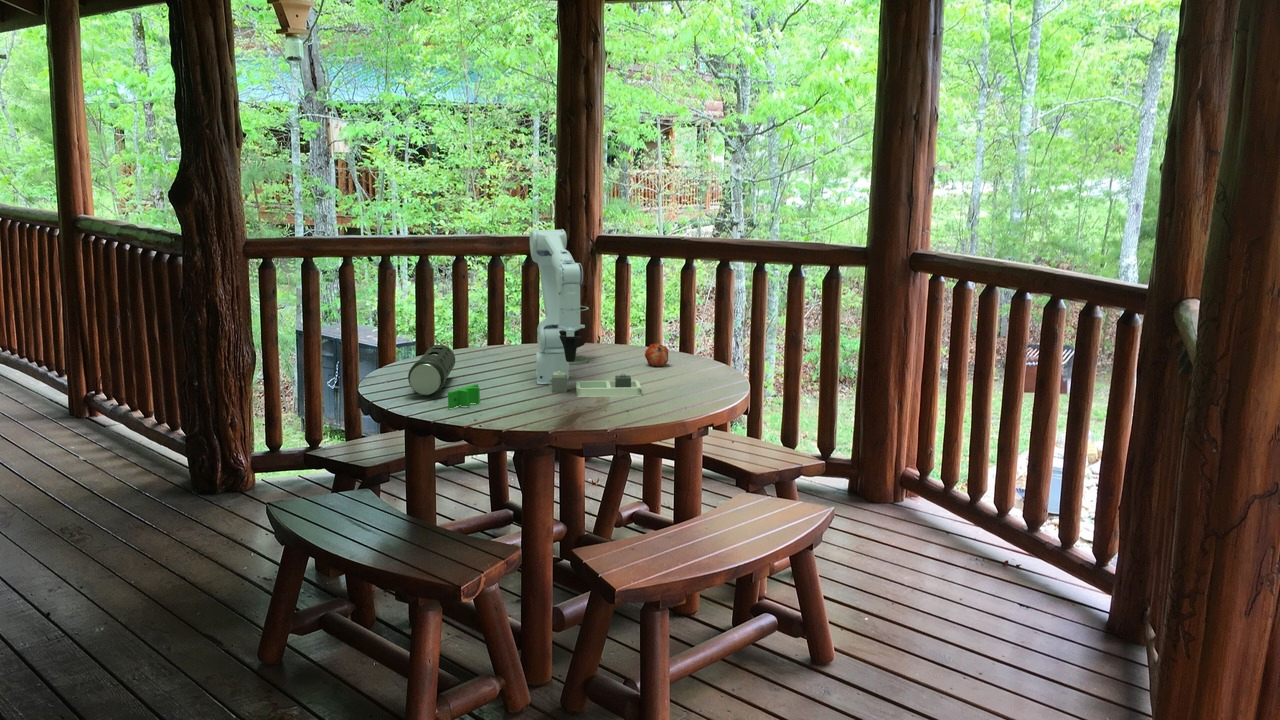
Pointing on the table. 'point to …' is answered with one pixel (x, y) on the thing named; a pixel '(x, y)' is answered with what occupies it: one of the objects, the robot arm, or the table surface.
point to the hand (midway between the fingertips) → (569, 359)
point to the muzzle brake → (431, 370)
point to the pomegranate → (657, 355)
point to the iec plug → (559, 382)
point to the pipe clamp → (464, 396)
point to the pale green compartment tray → (606, 389)
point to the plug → (622, 381)
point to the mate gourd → (583, 333)
